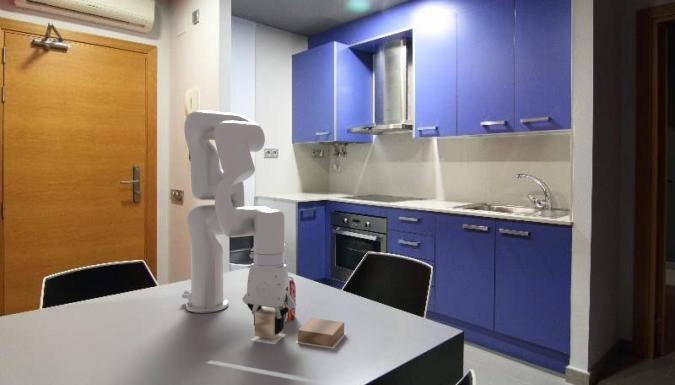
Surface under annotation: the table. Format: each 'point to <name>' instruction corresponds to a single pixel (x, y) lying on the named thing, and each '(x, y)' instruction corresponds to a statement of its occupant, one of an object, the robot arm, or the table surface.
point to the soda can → (291, 313)
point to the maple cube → (265, 322)
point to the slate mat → (279, 336)
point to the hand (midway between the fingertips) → (268, 329)
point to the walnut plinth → (321, 332)
